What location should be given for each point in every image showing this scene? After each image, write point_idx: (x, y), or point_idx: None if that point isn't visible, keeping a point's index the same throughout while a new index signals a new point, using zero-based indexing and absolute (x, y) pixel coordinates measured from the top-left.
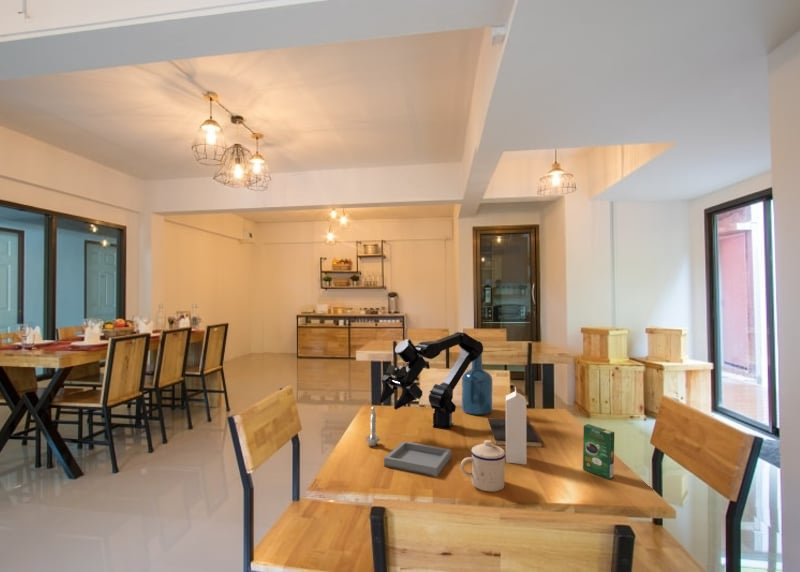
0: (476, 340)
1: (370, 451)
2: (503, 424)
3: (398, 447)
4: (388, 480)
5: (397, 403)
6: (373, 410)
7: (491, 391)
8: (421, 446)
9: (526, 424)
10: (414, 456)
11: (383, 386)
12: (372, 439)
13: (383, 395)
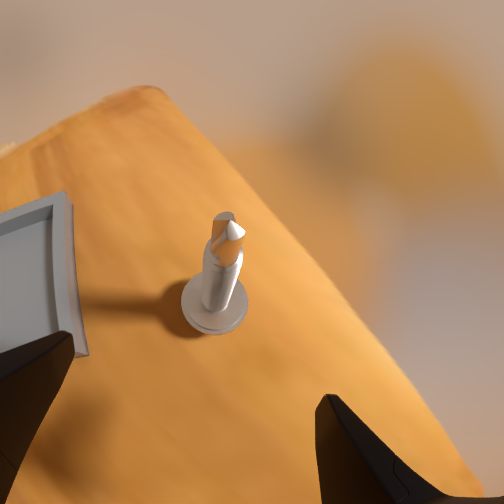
0: None
1: (174, 256)
2: None
3: (59, 282)
4: (39, 167)
5: (26, 344)
6: (213, 226)
7: None
8: (8, 349)
9: None
10: (19, 302)
11: (452, 497)
12: (200, 283)
13: (349, 451)
